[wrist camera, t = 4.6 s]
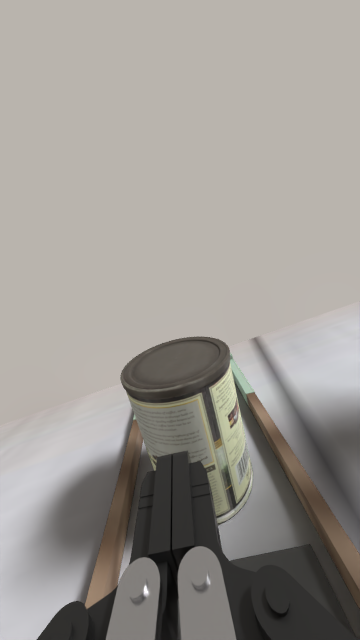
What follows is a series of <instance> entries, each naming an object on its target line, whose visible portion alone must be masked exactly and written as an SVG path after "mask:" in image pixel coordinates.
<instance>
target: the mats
mask: <svg viewBox="0 0 360 640" xmlns="http://www.w3.org/2000/svg"><path fill="white" fill-rule="evenodd" d="M230 562H231V563H232V564H234V565H235V566H237V567H240V568H243V569H246V570H250V571H253V572H257V571H258V570H259V569H260V568H261V567H263V566H265V565H275V566H278V567H280V568H282V569H284V570H285V571H286V572H288V573H289V574H290V575H291V576H292V577H293V578H294V579H295V580H296V581H297V582H298V583H299V584H300V585H301V586H302V587H303V588H304V589H305V590H306V591H308V592H309V593H310V594H311V595H312V596H313V597H314V598H315V599H316V600H317V601H318V602H319V603H320V604H321V605H322V606H323V607H324V608H325V609H326V610H327V611H328V612H329V613H330V614H331V615H332V616H334V617H335V618H336V619H337V620H338V621H339V622H340V623H341V624H342V625H343V626H344V627H345V628H346V629H347V630H348V631H349V632H350V633H351V634H352V635H353V636H354V637H355V638H356V636H355V634H354V632H353V630H352V628H351V626H350V624H349V622H348V620H347V618H346V616H345V614H344V612H343V610H342V608H341V606H340V604H339V602H338V600H337V598H336V596H335V594H334V592H333V590H332V588H331V586H330V584H329V582H328V580H327V578H326V576H325V574H324V572H323V570H322V568H321V565H320V563H319V561H318V559H317V557H316V555H315V553H314V551H313V549H312V547H311V545H310V544H309V545H304V546H299V547H294V548H289V549H285V550H280V551H275V552H270V553H265V554H260V555H256V556H251V557H246V558H241V559H236V560H231V561H230ZM178 626H179V632H180V640H181V626H180V610H179V599H178ZM356 639H357V638H356Z"/></svg>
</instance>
